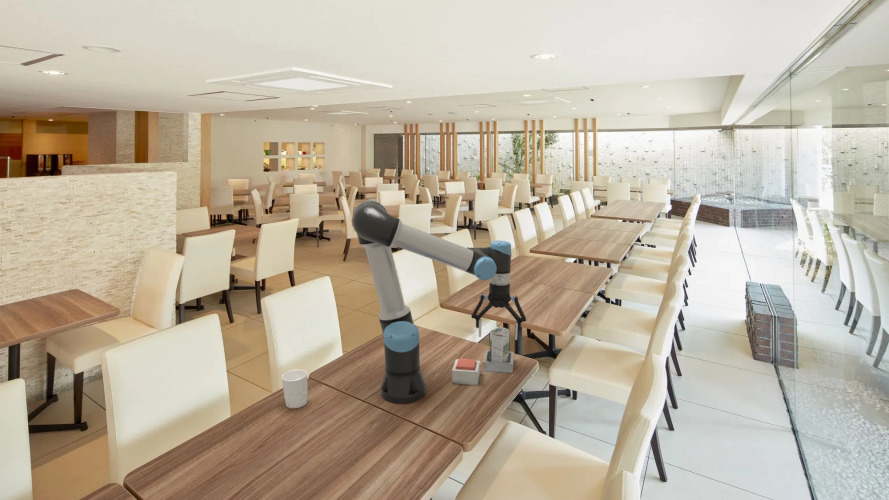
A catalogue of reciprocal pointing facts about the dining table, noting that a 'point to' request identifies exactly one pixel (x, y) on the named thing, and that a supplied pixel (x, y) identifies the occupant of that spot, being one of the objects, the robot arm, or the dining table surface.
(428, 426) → the dining table surface
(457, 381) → the switch box
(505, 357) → the syrup box
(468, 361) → the button
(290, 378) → the white cup
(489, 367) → the frame
